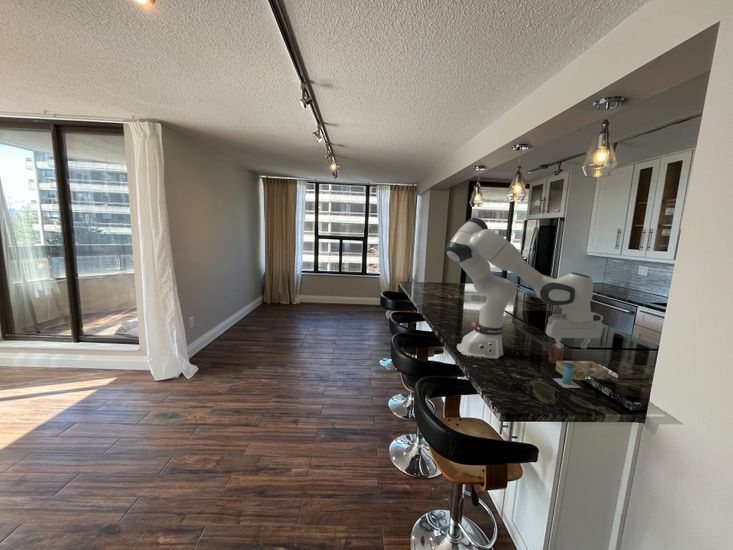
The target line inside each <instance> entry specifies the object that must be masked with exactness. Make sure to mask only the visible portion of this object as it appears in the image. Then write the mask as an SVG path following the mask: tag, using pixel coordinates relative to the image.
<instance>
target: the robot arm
mask: <svg viewBox="0 0 733 550" xmlns="http://www.w3.org/2000/svg"><path fill="white" fill-rule="evenodd" d="M444 251H445V254H446V256H447V257H448V258H449V259H450V260H451V261H453V262H456V263H457V264H458V265H459V266H460V267H461V269H462V270H463V271H464V272H465V274H467V275H468V277H469V279H471V281H472V283H473V289H474V290H475V291H476V292H477V293H479V294H480V295H482V296H485V297H486V301H485V304H484V305H482V306H481V307H480V308H479V317H478V318H479V319H478V323H477V324H476V323H475V322H471V326H472V327H473V328H474V329H473V330H472V331H471V332H469V333H466V335H464V336H463V337H462V340H461V343H458V344H457V345H456V350H458V351H459V353H460V352H461V353H460V354H462V355H463V356H465V355H466V357H471V356H473V358H482V357H483V359H495V360H498V359H500V357H501V356H503V355H504V350H503V341H502V340H503V334H504V333H503V332H504V325H503V323H504V316H505V315H504V314H505V311H506V308H507V306H508V304H509V303H510V302H511V301H513V300H514V299H515V297H516V295H517V292H518V288H517V285H516V284H515V283H514V282H512V281H511V280H509V279H507V278H504V277H501V276H500V277H499V276H497V275H495V274H494V273H493V272H492V270H491V265H493V266H494V267H496V268H498V269H500V270H502V271H505V272H506V271H507V272H510V273H513V274H515V275H516V276H517V277H519V278H520V279H522V280H523V281H524V282H526V283H527V284H528V285H529V286H530V287H531V289H532V292H533V293H534V294H535V296H537V297H538V298H539V299H540V300H542V302H543V303H545V304H547V305H548V306H561V305H562V309H561V310H562V312H561V313H559V314H556V313H553V314H552V315H550V316H548V319H547V321H548V322H547V325H546V329H545V334H546V335H547V337H550V338H552V339H554V341H555V342H556V343H557V348H563V344H564V343H563V344H562V343H561V341H562V339H583V341H582V342H580V344H579V347H580V348H581V349H587V348H588V345H589V344H590V342H591V341H592V339H600V338H601V337H602V334H603V327H604V326H603V322H602V321H603V320H604V316H603V315H601V314H599V313H596V312H594V311H592V310H591V309H592V308H591V301H592V299H593V293H594V282H593V279H592V277H591V276H589V275H587V274H583V273H579V272H573V271H572V272H569V273H568V274H566V275H564V276H561V277H558V278H556V277H553V276H550V275H547V274H543V273H541V272H539V271H538V270H537V269H535V268H533V267H532V266H531V265H530V264H528V263H527V262H526V261H525V260H524V258H523V256H522V254H521V252H520V251H519V250H518V248H517V247H516V246H515V244H513V243H511V242H510V241H509V240H507V239H506V238H504V237H503V236H501V234H498V233H496V232H494V231H492V230H490V229H489V227H488V225H487V223H486V222H485V221H484V220H483V219H481V218H479V217H471V218H470V219H468V220H467V221H465V222H464V224H462V226H461V227H459V229H458V230H457V231H456V233H455V234H454V235H453V236H452V238H451V240H449V242H448V243H447V245H446V246H445V250H444Z"/></svg>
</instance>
